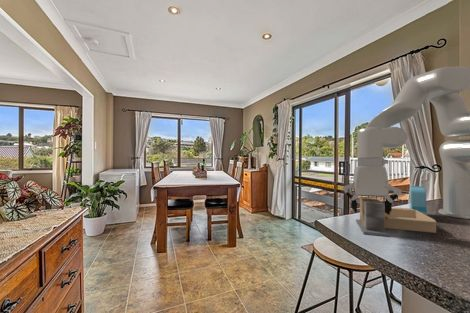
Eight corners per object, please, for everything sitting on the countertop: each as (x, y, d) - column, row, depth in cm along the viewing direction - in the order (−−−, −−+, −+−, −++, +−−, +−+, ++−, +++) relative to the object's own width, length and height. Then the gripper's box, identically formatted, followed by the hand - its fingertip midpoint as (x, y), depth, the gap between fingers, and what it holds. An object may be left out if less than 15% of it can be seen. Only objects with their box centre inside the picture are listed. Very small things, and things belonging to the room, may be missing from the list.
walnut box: (375, 222, 77) (375, 197, 77) (384, 231, 68) (383, 203, 68) (360, 221, 79) (359, 197, 79) (366, 229, 69) (366, 202, 69)
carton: (414, 218, 83) (414, 208, 83) (439, 234, 66) (439, 222, 66) (372, 215, 88) (372, 206, 88) (386, 229, 71) (385, 218, 72)
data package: (427, 220, 80) (425, 189, 81) (411, 218, 83) (410, 188, 84) (424, 214, 90) (423, 186, 90) (411, 212, 93) (409, 185, 93)
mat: (377, 223, 78) (377, 221, 78) (389, 236, 65) (389, 234, 65) (355, 221, 81) (355, 219, 81) (363, 234, 68) (363, 231, 68)
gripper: (396, 162, 74) (396, 211, 74) (341, 162, 80) (341, 207, 80) (404, 163, 67) (405, 217, 67) (343, 163, 73) (344, 212, 73)
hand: (370, 212), depth 73 cm, fingers open, 9 cm apart
